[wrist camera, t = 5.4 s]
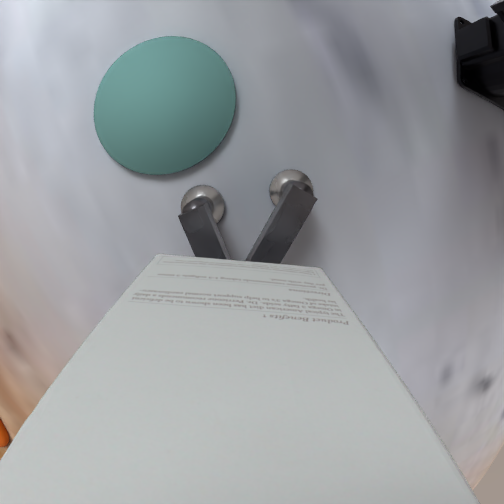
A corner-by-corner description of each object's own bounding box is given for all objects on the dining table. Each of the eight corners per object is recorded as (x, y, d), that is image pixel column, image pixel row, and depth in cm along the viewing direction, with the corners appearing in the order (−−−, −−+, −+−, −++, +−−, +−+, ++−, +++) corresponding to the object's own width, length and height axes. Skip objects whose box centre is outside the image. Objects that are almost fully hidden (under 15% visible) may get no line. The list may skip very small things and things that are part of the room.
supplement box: (158, 385, 15) (93, 613, 3) (155, 248, 13) (-60, 521, 1) (299, 397, 15) (347, 627, 3) (328, 265, 13) (521, 544, 1)
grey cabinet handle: (314, 173, 19) (332, 175, 15) (290, 310, 21) (300, 341, 17) (187, 156, 18) (172, 154, 14) (175, 296, 21) (161, 325, 17)
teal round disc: (245, 43, 16) (245, 40, 16) (225, 181, 19) (224, 181, 18) (110, 41, 16) (107, 39, 15) (89, 170, 18) (86, 170, 18)
